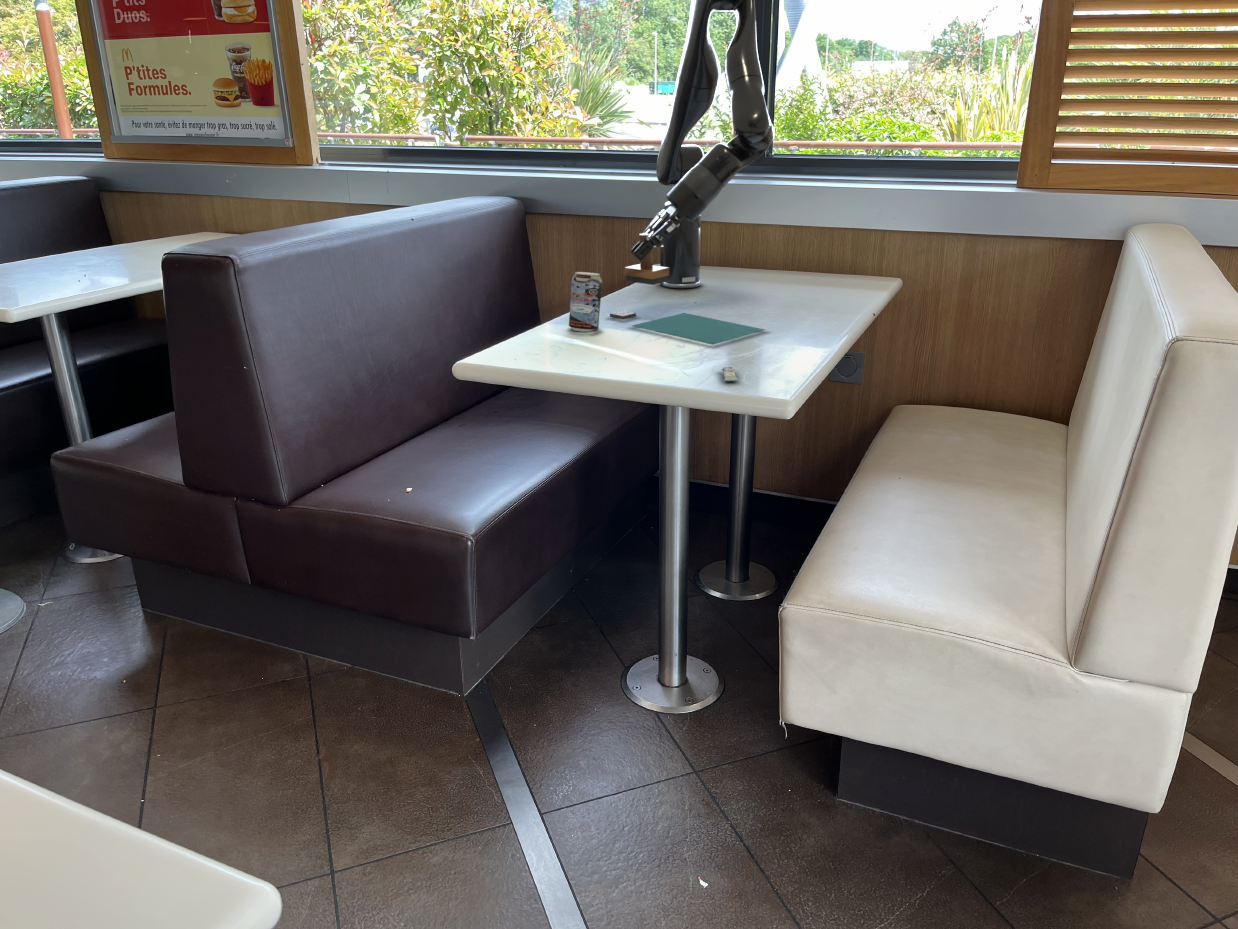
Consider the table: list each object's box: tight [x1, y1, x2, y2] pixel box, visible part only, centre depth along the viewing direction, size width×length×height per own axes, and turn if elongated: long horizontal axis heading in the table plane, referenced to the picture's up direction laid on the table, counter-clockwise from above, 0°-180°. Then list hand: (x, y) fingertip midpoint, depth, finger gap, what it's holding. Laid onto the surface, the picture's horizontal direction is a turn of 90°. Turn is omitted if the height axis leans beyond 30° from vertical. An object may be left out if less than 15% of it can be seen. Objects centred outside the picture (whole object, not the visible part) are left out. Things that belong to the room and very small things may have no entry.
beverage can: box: [568, 271, 603, 333], centre depth 179 cm, size 6×7×12 cm
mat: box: [631, 312, 766, 345], centre depth 181 cm, size 22×16×1 cm
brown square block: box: [609, 310, 637, 320], centre depth 191 cm, size 4×4×1 cm
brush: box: [623, 232, 669, 286], centre depth 182 cm, size 8×5×10 cm, turn 46°
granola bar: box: [721, 366, 739, 382], centre depth 150 cm, size 7×2×1 cm, turn 179°
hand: (635, 255), depth 182 cm, fingers closed on brush, 2 cm apart
